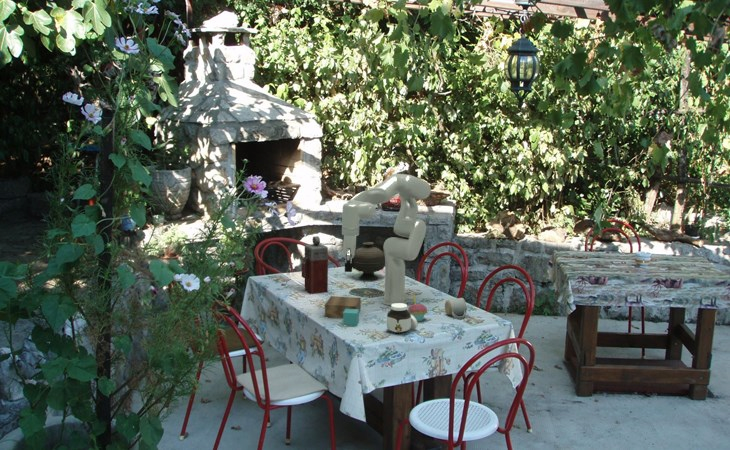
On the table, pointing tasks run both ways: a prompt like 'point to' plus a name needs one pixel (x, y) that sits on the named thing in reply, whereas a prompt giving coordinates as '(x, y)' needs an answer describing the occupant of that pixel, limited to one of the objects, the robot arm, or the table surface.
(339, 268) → the table surface
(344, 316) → the teal block
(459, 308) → the ceramic mug
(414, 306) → the cupcake
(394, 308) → the spread jar
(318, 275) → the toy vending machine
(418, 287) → the table surface
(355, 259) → the pot
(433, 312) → the table surface
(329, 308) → the walnut base
